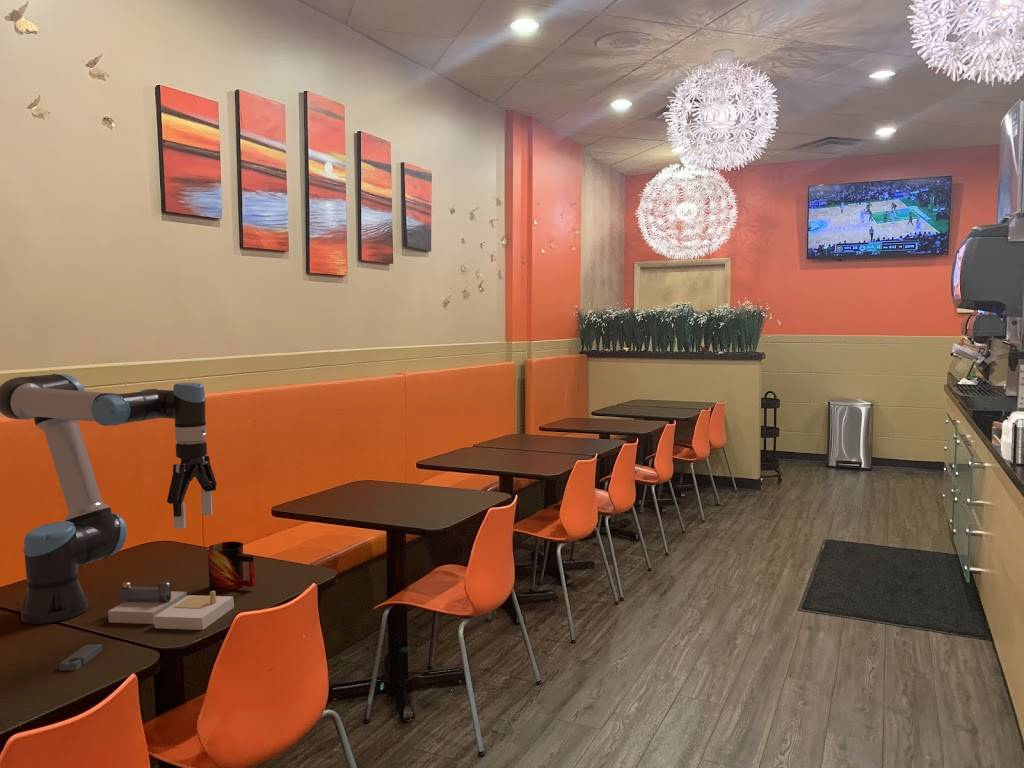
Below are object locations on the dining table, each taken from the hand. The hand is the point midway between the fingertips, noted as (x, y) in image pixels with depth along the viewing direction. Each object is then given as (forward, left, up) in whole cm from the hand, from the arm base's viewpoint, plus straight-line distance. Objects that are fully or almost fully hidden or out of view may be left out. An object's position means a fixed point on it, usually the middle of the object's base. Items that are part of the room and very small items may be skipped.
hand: (194, 521), depth 199 cm
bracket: (-10, -32, -24) cm, 41 cm away
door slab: (+2, -6, -24) cm, 25 cm away
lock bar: (-13, -3, -20) cm, 24 cm away
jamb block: (-12, -3, -24) cm, 27 cm away
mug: (0, +18, -24) cm, 30 cm away
